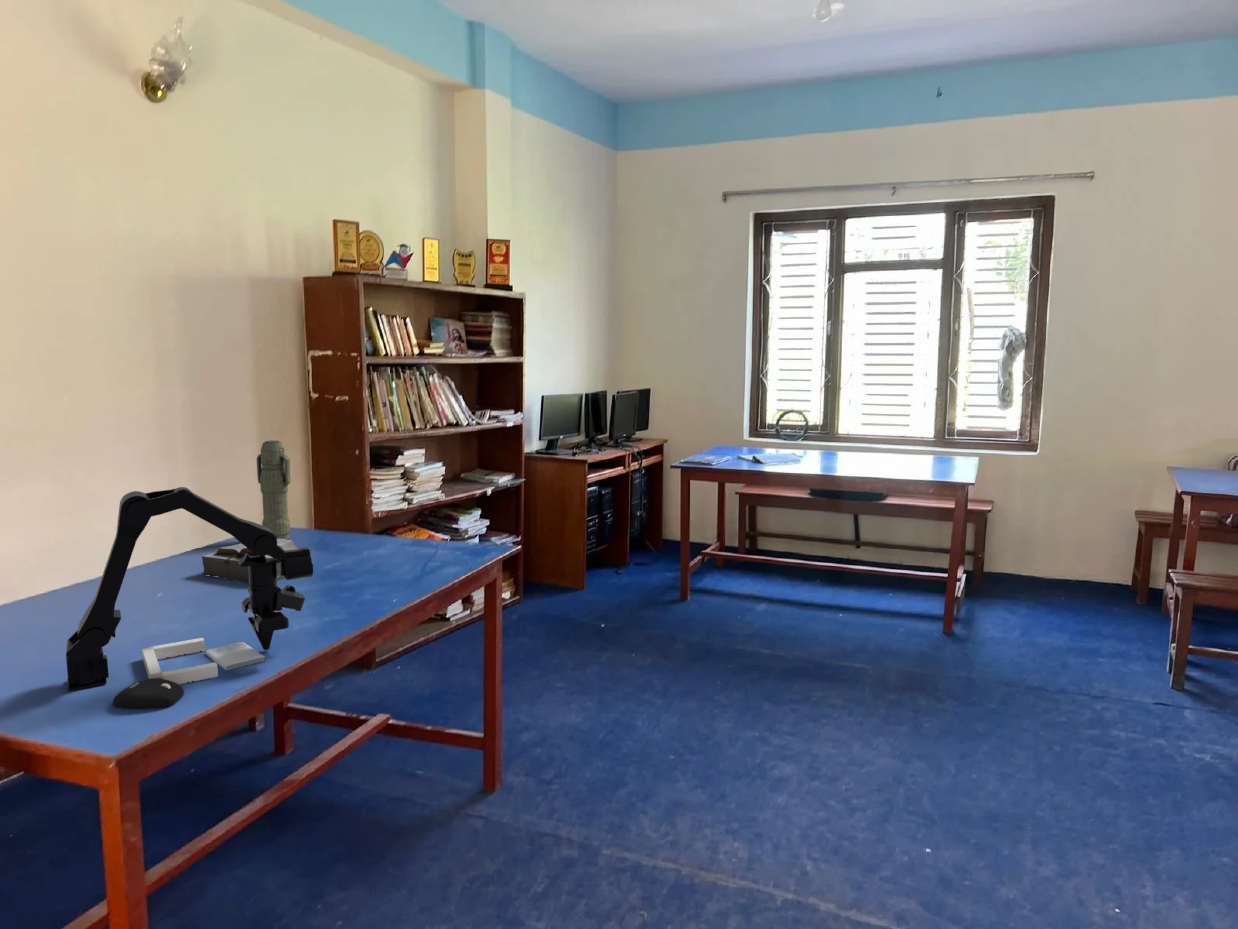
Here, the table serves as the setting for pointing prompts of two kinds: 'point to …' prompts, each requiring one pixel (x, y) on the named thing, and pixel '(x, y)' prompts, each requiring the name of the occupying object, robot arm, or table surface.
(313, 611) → the table surface
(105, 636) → the robot arm
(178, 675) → the dock
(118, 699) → the computer mouse
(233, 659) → the external hard drive
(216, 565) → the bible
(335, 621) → the table surface
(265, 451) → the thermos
